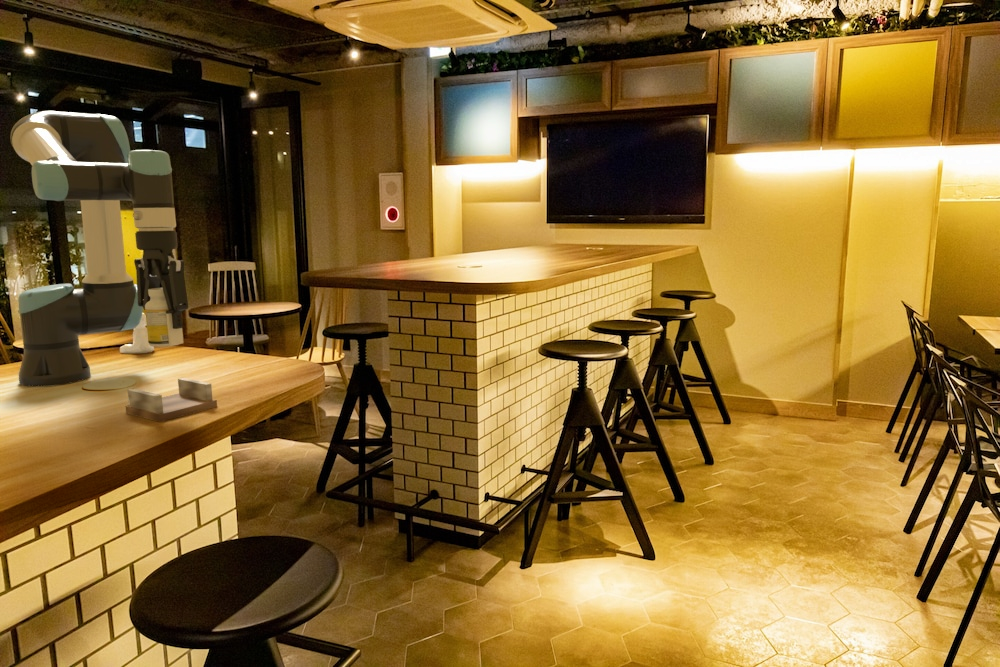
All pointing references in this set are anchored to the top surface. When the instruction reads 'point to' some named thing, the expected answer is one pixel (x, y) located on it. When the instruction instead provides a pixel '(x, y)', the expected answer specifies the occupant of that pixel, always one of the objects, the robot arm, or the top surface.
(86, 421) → the top surface
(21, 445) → the top surface
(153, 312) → the pill bottle
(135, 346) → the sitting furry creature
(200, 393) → the slot cradle
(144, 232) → the robot arm
